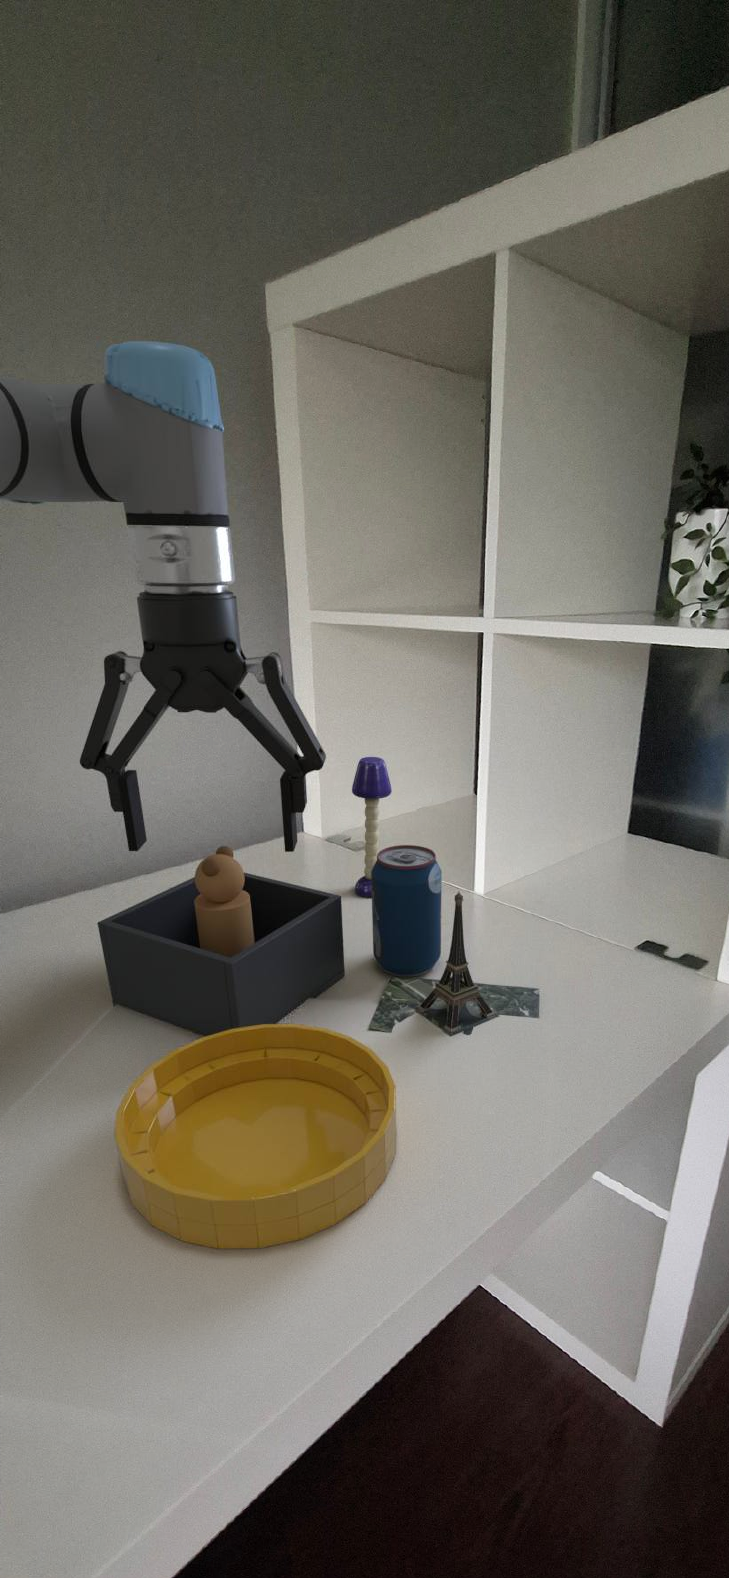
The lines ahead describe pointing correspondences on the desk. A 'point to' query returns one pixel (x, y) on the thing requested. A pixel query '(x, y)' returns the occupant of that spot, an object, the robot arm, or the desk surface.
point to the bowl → (257, 1135)
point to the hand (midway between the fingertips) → (214, 846)
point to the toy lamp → (370, 811)
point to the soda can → (406, 910)
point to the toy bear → (223, 905)
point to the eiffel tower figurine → (452, 995)
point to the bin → (224, 957)
